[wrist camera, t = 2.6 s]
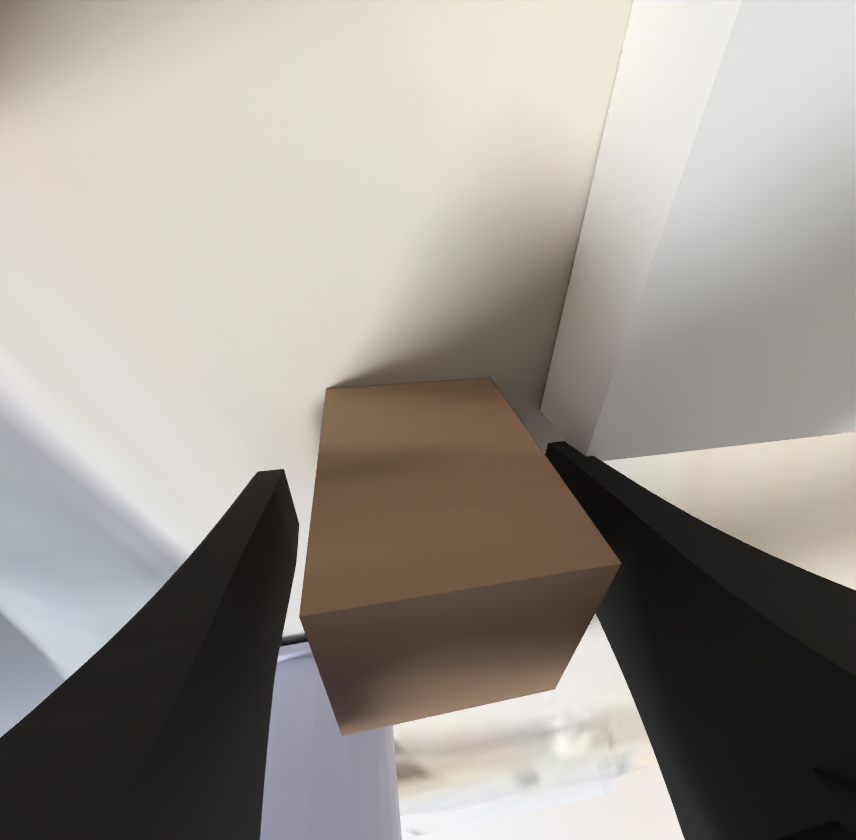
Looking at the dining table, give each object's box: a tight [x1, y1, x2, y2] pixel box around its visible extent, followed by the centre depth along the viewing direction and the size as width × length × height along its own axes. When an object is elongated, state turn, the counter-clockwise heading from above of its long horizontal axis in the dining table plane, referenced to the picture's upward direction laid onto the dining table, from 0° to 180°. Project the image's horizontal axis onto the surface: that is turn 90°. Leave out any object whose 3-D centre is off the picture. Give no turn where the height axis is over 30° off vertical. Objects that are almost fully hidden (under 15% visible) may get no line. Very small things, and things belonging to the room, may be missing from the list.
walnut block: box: [299, 377, 621, 736], centre depth 9 cm, size 4×4×6 cm
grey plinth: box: [540, 0, 856, 461], centre depth 8 cm, size 10×10×2 cm
